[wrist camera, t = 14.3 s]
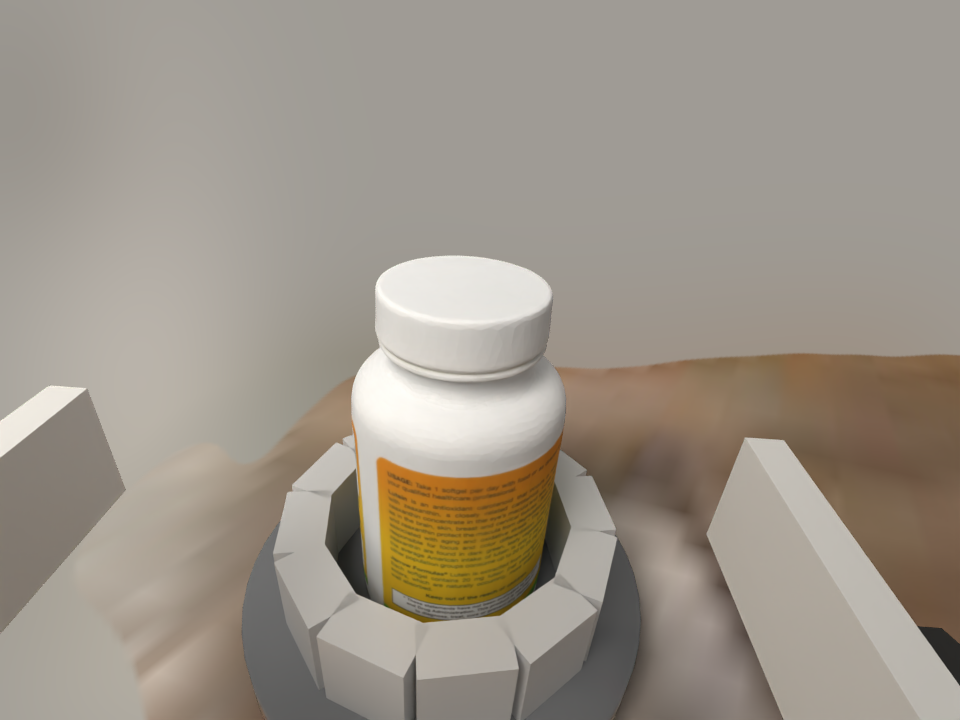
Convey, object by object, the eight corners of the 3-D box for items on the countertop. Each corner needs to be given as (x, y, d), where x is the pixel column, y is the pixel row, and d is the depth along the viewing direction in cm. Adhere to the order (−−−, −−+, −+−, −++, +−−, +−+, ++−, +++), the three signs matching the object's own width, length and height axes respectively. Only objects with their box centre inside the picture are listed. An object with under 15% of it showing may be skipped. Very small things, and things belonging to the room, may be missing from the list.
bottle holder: (652, 526, 24) (676, 449, 22) (587, 943, 12) (624, 873, 10) (382, 439, 28) (379, 366, 26) (150, 692, 17) (107, 602, 14)
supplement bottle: (572, 588, 19) (639, 301, 13) (425, 695, 16) (429, 370, 10) (469, 485, 23) (486, 233, 18) (335, 552, 20) (301, 265, 14)
